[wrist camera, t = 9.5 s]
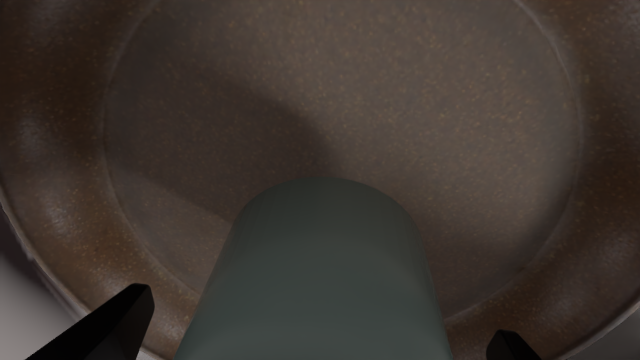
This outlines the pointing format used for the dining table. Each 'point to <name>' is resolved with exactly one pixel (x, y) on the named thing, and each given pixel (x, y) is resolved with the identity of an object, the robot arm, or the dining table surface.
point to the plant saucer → (333, 146)
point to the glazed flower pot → (319, 281)
